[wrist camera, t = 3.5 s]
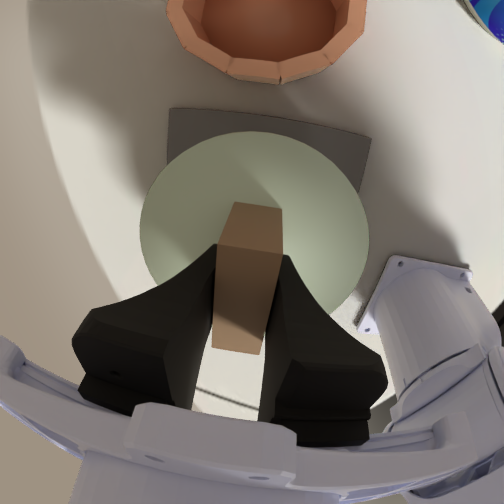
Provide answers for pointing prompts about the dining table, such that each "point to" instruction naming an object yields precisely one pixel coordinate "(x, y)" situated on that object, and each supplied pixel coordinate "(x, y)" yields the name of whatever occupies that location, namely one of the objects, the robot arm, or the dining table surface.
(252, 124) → the mat
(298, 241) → the lid
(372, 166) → the dining table surface
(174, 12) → the bowl
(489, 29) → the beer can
